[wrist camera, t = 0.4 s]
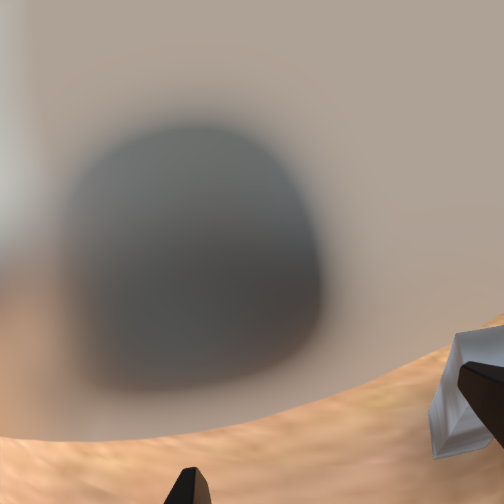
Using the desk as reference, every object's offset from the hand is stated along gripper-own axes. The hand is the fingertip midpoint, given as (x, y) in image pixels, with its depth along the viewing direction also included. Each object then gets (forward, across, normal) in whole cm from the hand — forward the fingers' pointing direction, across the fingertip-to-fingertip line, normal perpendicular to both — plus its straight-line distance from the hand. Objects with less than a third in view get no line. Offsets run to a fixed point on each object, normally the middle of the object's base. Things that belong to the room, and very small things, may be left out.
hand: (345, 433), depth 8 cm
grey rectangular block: (+6, -12, +15) cm, 21 cm away
